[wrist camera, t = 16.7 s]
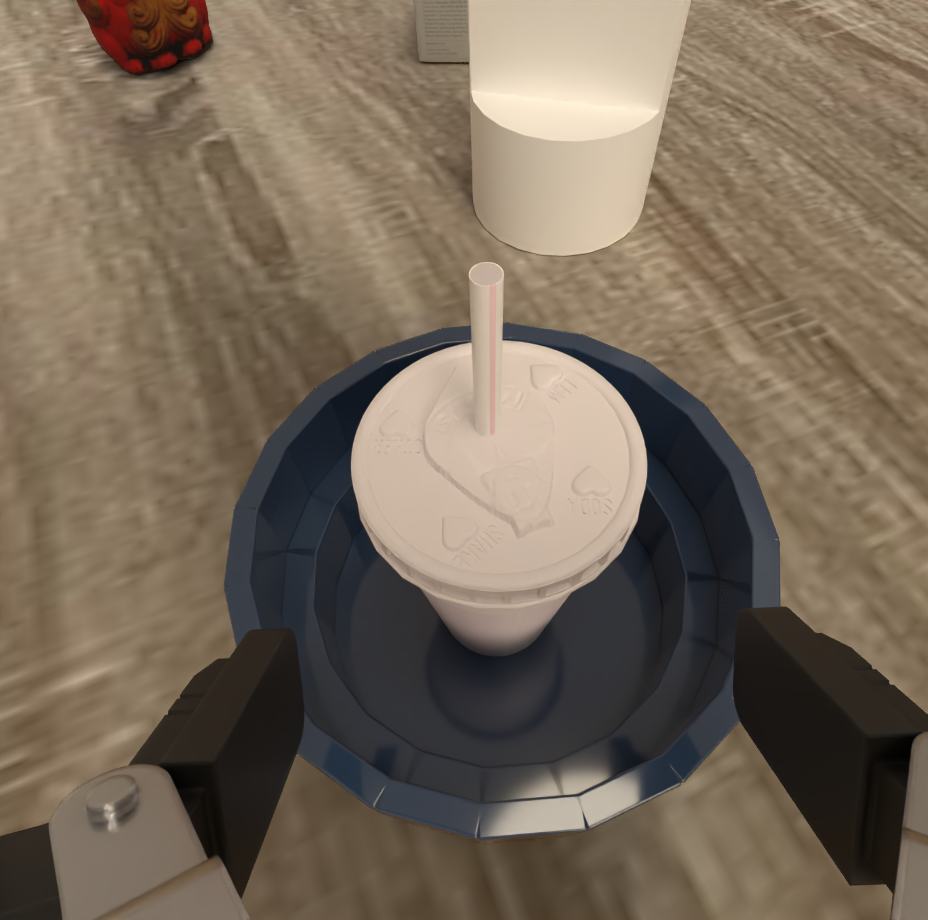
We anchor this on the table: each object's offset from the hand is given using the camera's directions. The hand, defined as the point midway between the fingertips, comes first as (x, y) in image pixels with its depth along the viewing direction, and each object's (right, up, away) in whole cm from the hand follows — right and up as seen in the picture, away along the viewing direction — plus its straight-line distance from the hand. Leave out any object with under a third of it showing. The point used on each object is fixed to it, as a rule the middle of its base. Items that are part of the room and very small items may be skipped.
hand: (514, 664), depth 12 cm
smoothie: (0, -1, +10) cm, 10 cm away
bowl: (0, -1, +11) cm, 11 cm away
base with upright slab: (+4, +18, +23) cm, 29 cm away
